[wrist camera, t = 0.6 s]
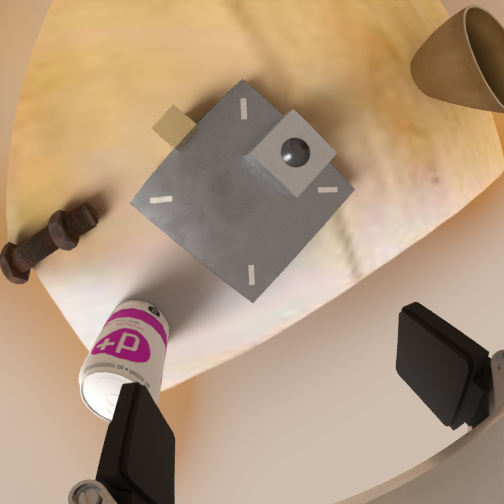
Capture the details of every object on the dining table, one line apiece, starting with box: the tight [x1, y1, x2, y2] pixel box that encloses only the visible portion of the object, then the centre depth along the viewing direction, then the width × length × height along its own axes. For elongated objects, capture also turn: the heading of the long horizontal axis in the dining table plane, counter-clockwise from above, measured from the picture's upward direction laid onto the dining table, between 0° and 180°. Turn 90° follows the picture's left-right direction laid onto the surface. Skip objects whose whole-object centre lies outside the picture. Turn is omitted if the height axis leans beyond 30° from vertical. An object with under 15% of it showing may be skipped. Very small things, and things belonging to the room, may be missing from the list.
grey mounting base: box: [130, 79, 355, 303], centre depth 30 cm, size 18×20×7 cm
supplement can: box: [79, 300, 169, 422], centre depth 29 cm, size 8×8×15 cm
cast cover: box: [243, 109, 337, 198], centre depth 28 cm, size 6×6×5 cm
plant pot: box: [411, 5, 504, 113], centre depth 26 cm, size 15×15×16 cm
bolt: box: [0, 202, 98, 284], centre depth 30 cm, size 6×5×15 cm
